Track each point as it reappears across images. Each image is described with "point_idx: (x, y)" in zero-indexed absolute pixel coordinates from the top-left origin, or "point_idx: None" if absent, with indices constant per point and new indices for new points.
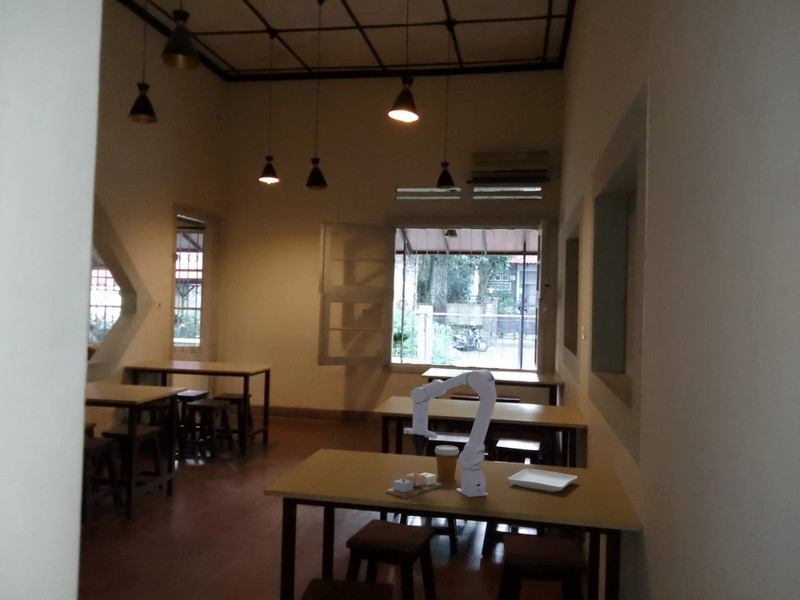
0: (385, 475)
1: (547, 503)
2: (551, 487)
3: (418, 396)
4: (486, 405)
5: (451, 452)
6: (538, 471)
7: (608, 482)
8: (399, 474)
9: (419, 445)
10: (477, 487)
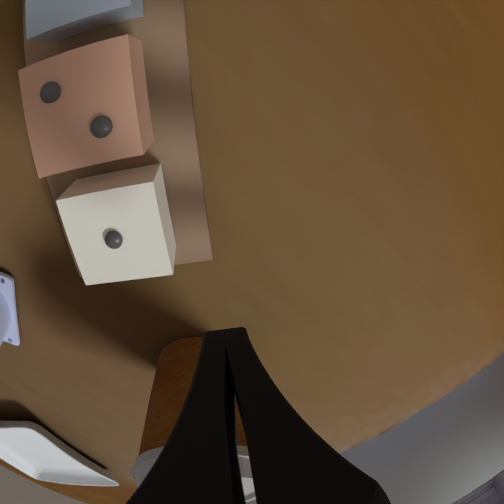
0: (436, 184)
1: None
2: None
3: None
4: None
5: (136, 473)
6: (93, 482)
7: (35, 479)
8: (397, 249)
9: (176, 437)
10: None
